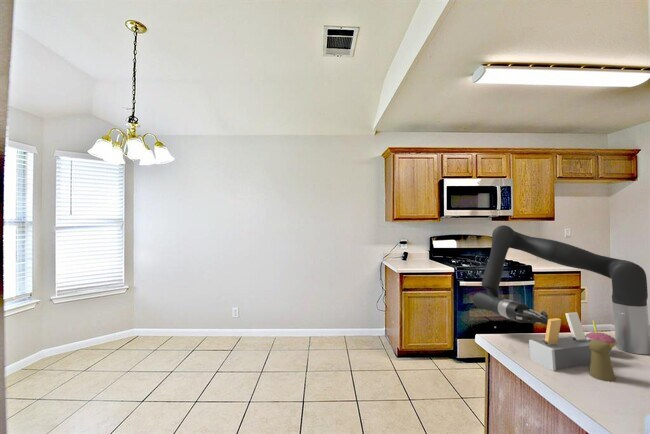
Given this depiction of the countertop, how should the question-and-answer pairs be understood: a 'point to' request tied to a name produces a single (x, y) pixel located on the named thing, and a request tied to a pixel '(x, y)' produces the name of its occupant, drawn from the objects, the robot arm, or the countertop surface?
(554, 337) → the outlet rocker
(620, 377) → the countertop surface
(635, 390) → the countertop surface
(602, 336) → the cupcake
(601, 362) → the cork
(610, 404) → the countertop surface
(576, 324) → the rocker switch
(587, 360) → the switch box
